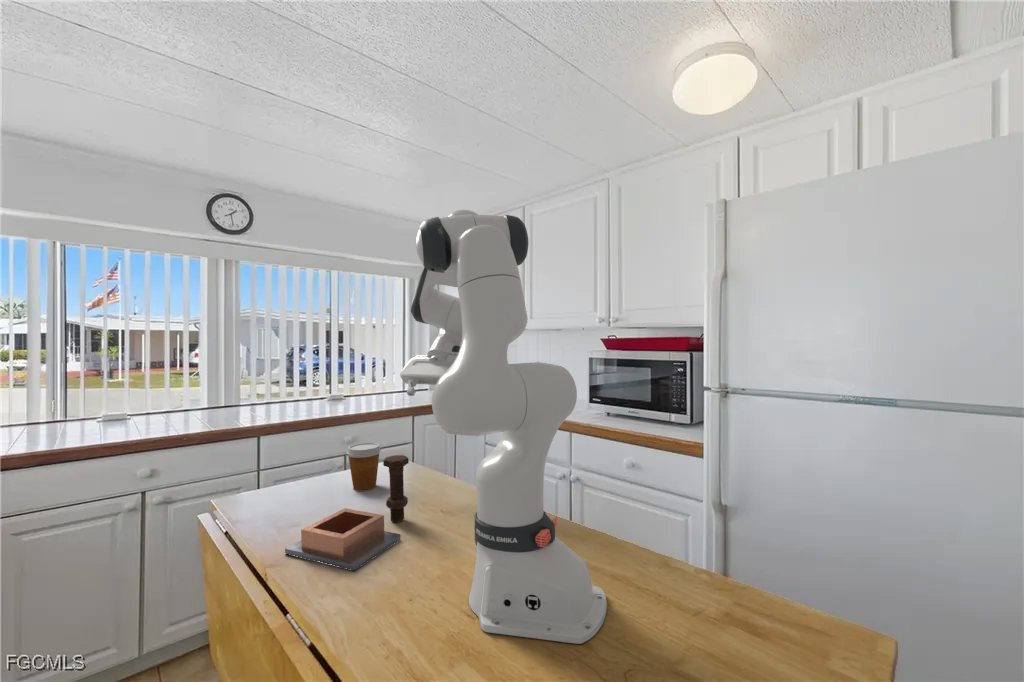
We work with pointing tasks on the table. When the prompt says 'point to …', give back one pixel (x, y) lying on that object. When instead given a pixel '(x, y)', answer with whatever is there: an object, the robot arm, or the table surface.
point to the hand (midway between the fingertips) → (424, 395)
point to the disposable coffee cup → (364, 465)
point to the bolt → (396, 486)
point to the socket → (344, 539)
